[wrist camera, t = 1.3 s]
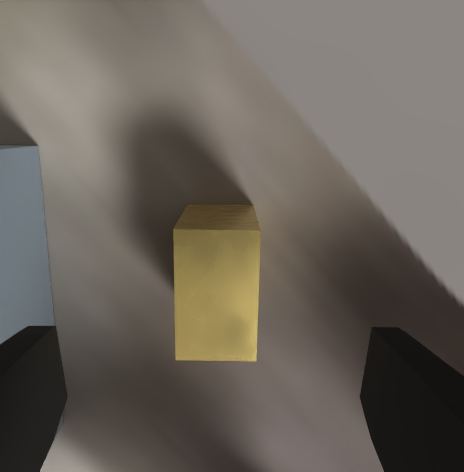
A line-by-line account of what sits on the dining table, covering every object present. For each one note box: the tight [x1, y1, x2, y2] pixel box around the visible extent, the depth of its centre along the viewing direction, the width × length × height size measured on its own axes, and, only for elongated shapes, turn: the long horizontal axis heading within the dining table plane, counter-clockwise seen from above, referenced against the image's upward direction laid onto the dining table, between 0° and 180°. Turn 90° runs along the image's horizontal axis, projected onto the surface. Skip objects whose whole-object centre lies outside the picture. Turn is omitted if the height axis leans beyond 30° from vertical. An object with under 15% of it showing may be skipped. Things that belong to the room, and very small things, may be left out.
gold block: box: [173, 204, 261, 361], centre depth 18 cm, size 5×3×5 cm, turn 179°
